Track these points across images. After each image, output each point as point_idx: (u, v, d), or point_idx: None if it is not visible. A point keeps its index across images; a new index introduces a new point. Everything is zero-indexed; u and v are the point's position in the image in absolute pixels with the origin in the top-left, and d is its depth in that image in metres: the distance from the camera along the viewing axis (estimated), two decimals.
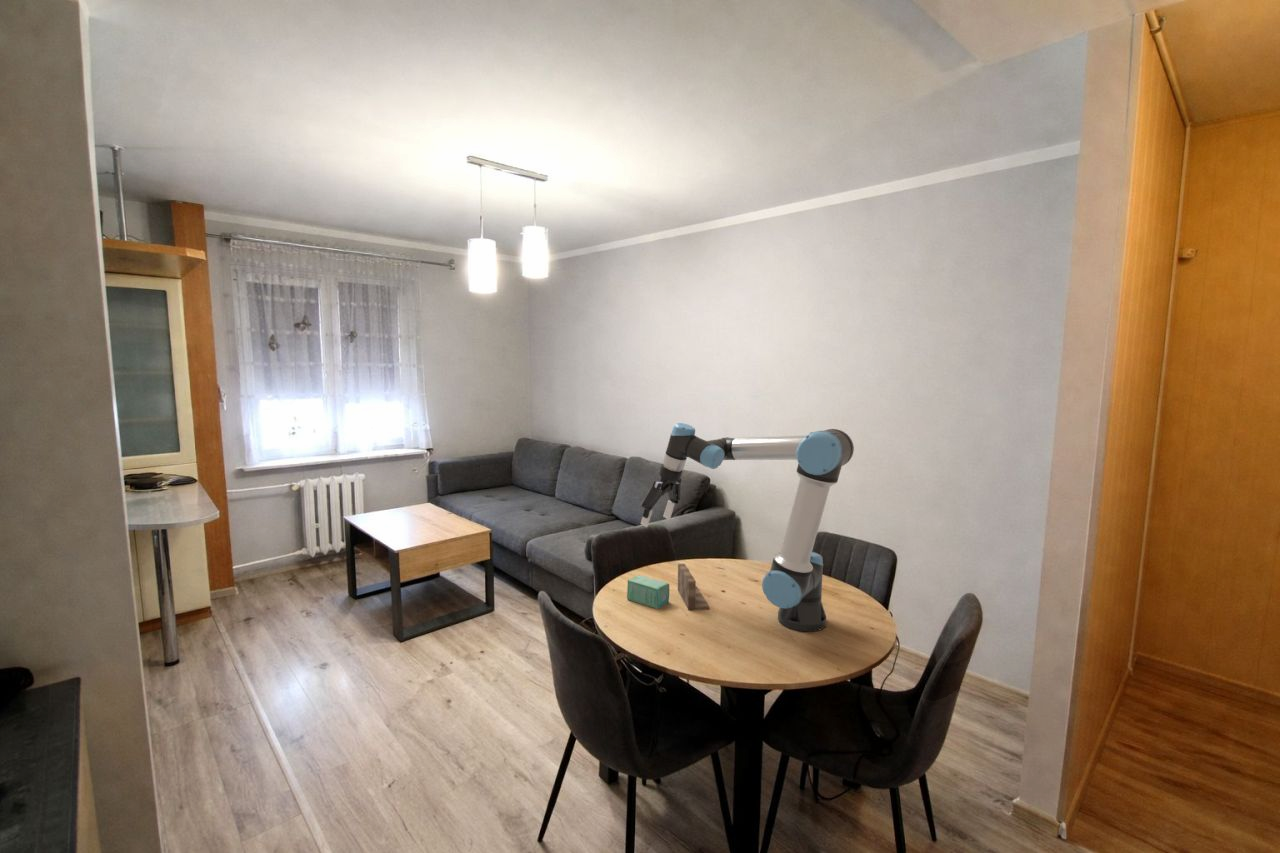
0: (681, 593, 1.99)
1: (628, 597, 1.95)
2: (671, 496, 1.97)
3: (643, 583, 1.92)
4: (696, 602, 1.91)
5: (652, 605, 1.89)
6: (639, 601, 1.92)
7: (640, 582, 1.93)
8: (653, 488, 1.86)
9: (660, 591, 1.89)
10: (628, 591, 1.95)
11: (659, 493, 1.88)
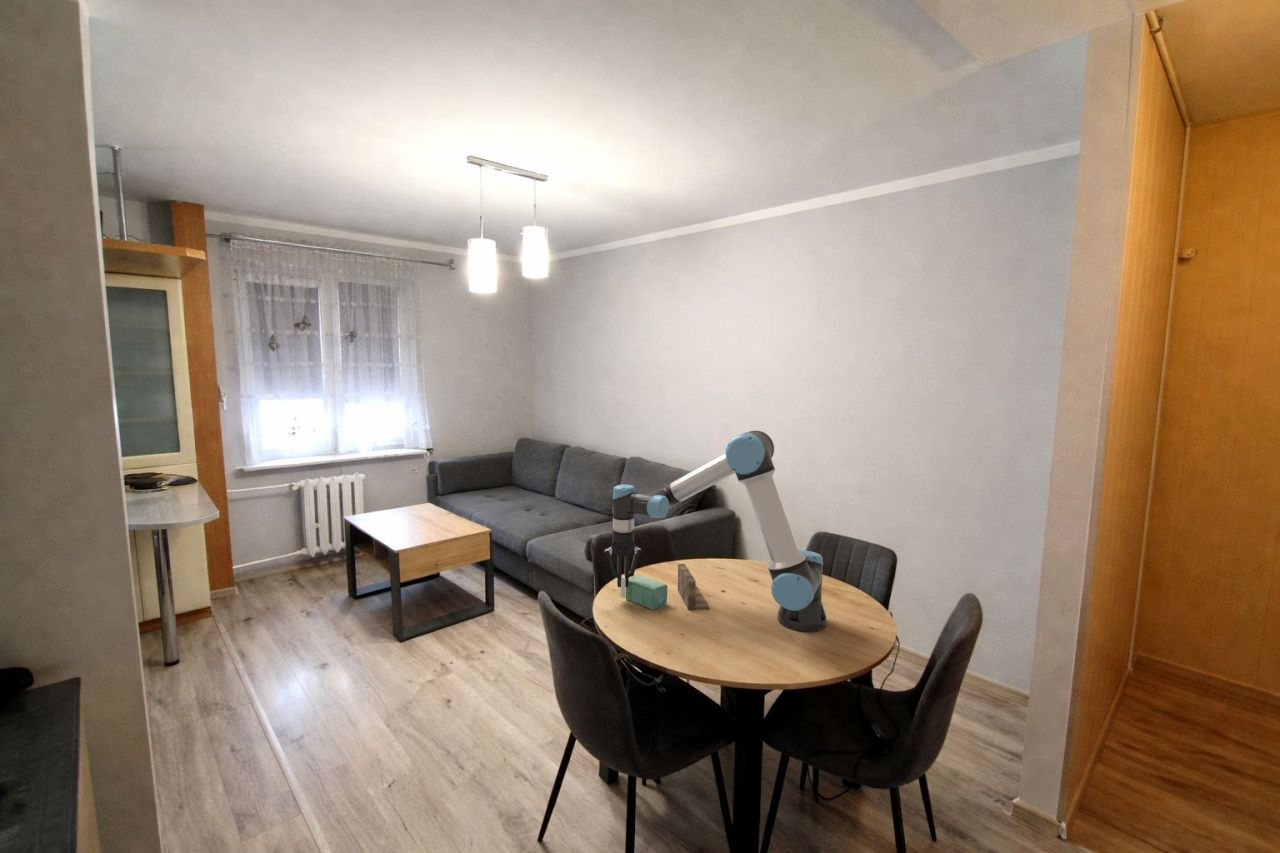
0: (681, 593, 1.99)
1: (626, 597, 1.95)
2: (625, 567, 1.92)
3: (641, 583, 1.91)
4: (696, 602, 1.91)
5: (649, 606, 1.88)
6: (637, 601, 1.92)
7: (638, 582, 1.93)
8: None
9: (657, 592, 1.88)
10: (626, 591, 1.95)
11: (617, 559, 1.91)
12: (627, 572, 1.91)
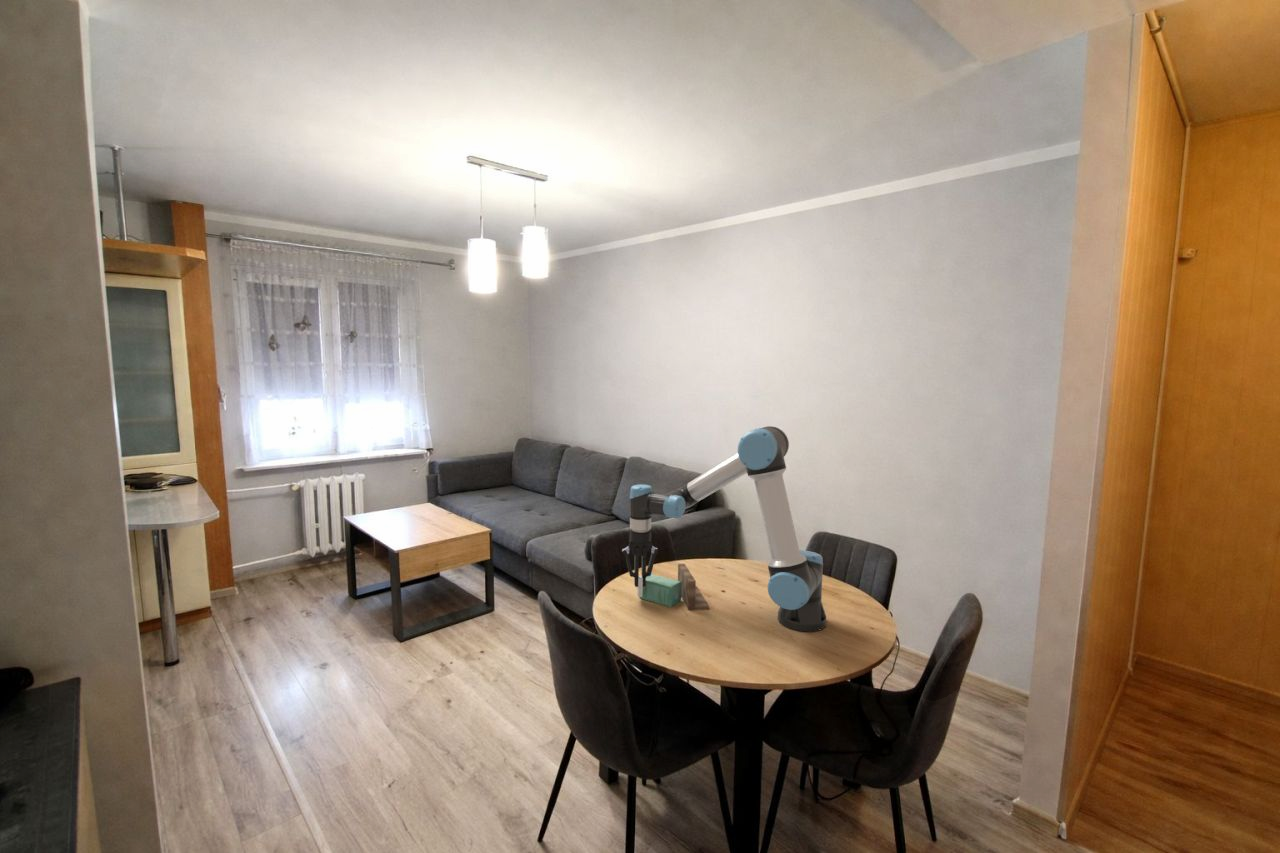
0: None
1: None
2: (642, 567, 1.93)
3: (656, 581, 1.93)
4: (696, 602, 1.91)
5: (665, 603, 1.90)
6: (652, 600, 1.94)
7: (653, 580, 1.95)
8: None
9: (674, 589, 1.90)
10: None
11: (635, 559, 1.92)
12: (644, 571, 1.92)
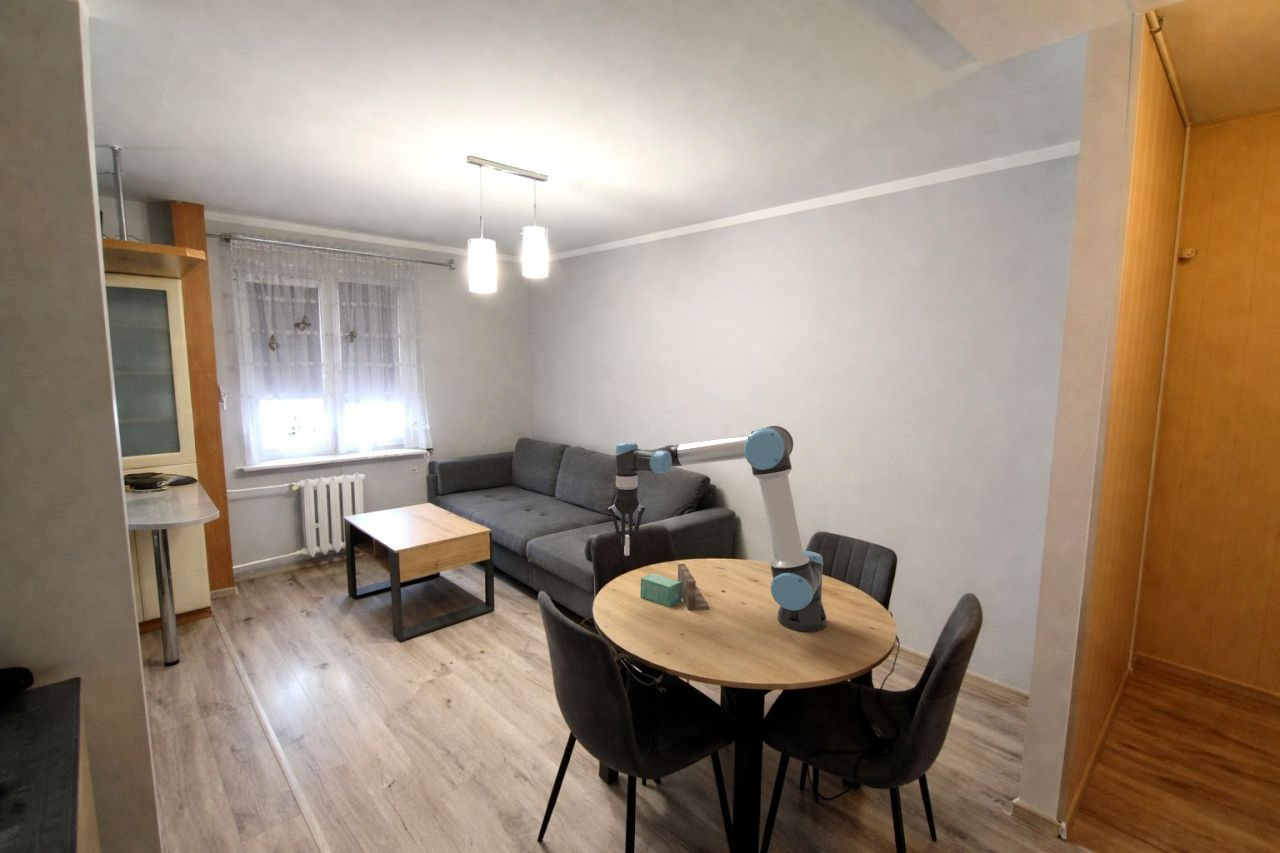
0: None
1: (641, 595, 1.97)
2: (628, 525, 1.91)
3: (656, 581, 1.94)
4: (696, 602, 1.91)
5: (664, 603, 1.91)
6: (652, 599, 1.94)
7: (653, 580, 1.95)
8: None
9: (673, 589, 1.90)
10: (641, 589, 1.97)
11: (621, 517, 1.90)
12: (631, 530, 1.90)
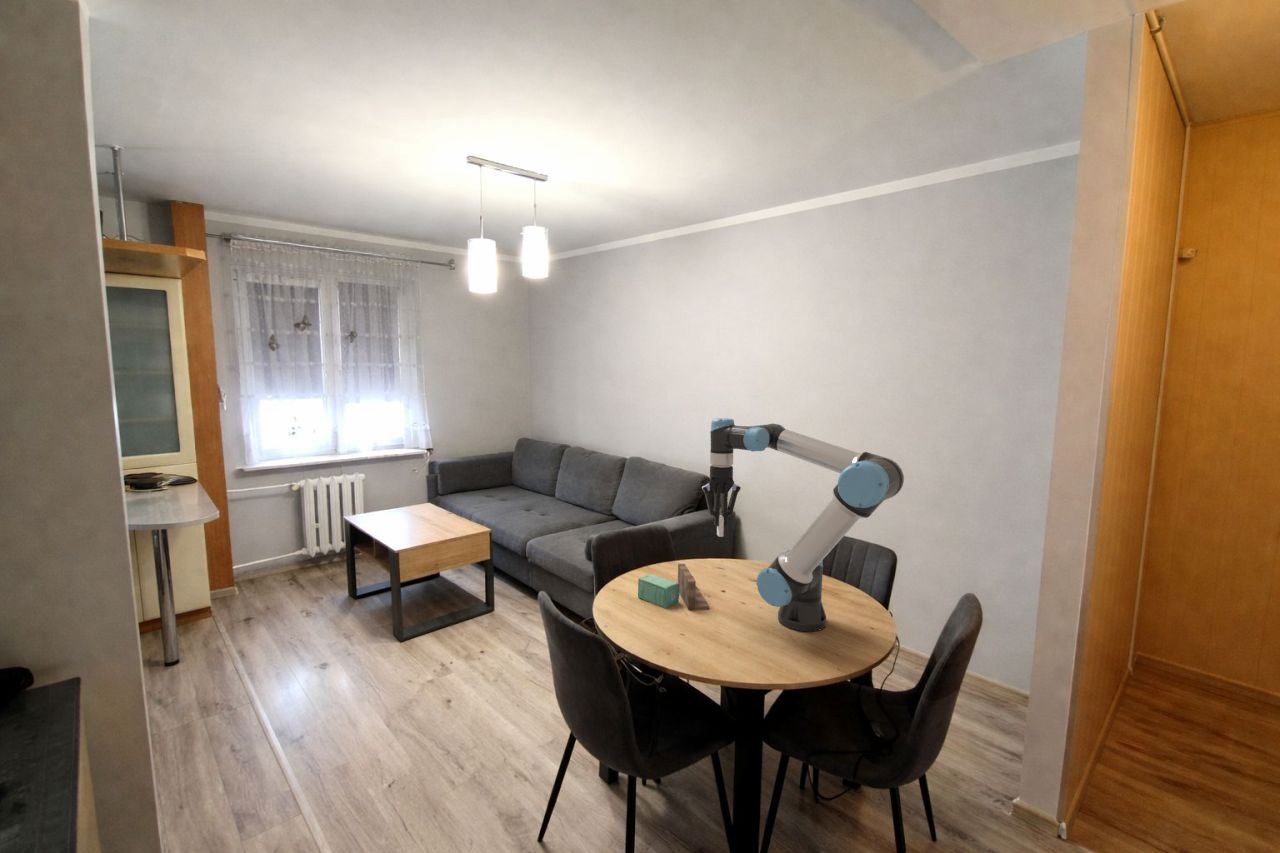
0: (681, 593, 1.99)
1: (639, 595, 1.97)
2: (722, 505, 1.83)
3: (653, 582, 1.93)
4: (696, 602, 1.91)
5: (661, 604, 1.90)
6: (649, 600, 1.94)
7: (650, 580, 1.95)
8: (705, 493, 1.82)
9: (669, 591, 1.89)
10: (639, 589, 1.97)
11: (715, 496, 1.82)
12: (725, 510, 1.82)
